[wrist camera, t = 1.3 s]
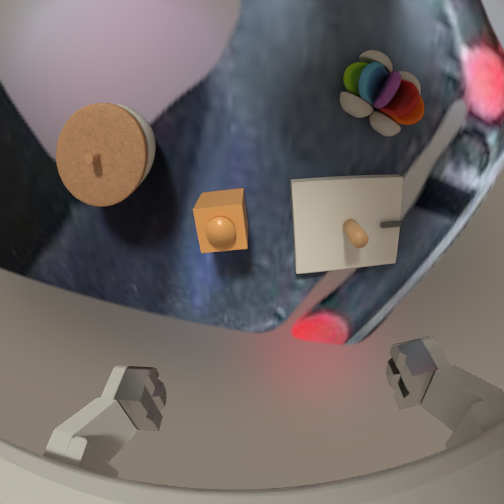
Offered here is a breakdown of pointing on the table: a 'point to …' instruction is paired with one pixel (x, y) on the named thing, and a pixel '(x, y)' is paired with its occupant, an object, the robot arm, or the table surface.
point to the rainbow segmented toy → (381, 93)
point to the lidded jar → (105, 153)
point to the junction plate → (345, 221)
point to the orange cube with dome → (221, 220)
